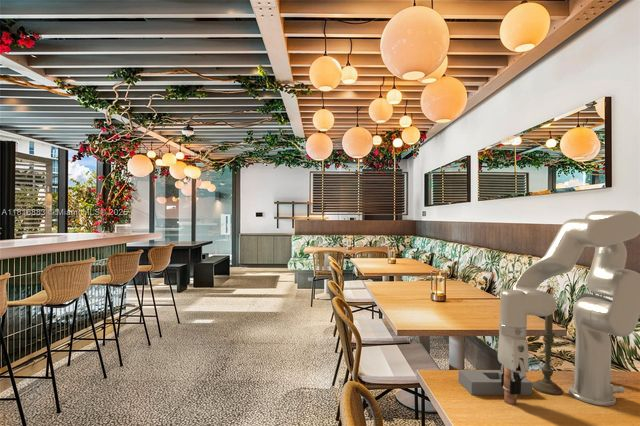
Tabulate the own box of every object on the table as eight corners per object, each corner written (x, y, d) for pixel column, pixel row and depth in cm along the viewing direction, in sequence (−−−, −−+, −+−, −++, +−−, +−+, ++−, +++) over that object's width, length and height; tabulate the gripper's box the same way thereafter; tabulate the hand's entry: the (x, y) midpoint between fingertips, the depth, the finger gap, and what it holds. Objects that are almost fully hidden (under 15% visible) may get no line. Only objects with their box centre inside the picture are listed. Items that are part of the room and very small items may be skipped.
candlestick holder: (550, 396, 128) (553, 302, 128) (525, 385, 136) (527, 296, 136) (569, 392, 132) (571, 301, 132) (543, 381, 140) (546, 295, 140)
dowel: (513, 399, 125) (514, 360, 125) (520, 405, 121) (522, 365, 121) (500, 399, 125) (501, 360, 125) (507, 405, 121) (508, 365, 121)
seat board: (514, 381, 139) (514, 370, 139) (531, 394, 129) (532, 382, 129) (458, 381, 137) (458, 369, 137) (471, 394, 127) (471, 382, 127)
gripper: (541, 339, 115) (539, 403, 115) (509, 323, 132) (507, 379, 132) (516, 339, 115) (514, 403, 115) (487, 323, 131) (485, 379, 131)
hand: (510, 389), depth 123 cm, fingers closed on dowel, 4 cm apart
